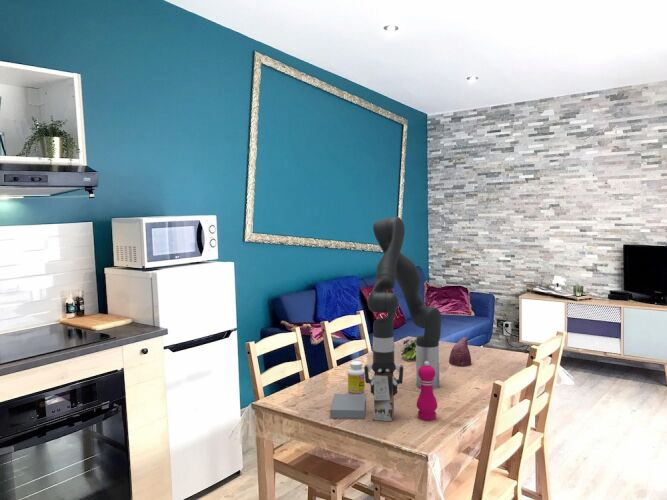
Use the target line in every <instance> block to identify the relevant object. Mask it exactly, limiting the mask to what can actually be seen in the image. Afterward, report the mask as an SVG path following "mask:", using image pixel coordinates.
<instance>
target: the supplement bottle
mask: <svg viewBox="0 0 667 500" xmlns="http://www.w3.org/2000/svg"><path fill="white" fill-rule="evenodd" d="M349 367H350V368H349V369H348V370H347V394H366V393H365V391H366V390H365V389H366V388H365V387H366V384H365V383H366V382H365V371H364V368H363V363H362V361H359V360H358V361H355V360H354V361H351V362H350V363H349Z"/></svg>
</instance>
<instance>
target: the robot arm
mask: <svg viewBox="0 0 667 500" xmlns="http://www.w3.org/2000/svg"><path fill="white" fill-rule="evenodd" d="M405 227H406V226H405V224H404V221H403V219H402V218H401V217H399V216H393V217H392V216H391V217H388V218H384V219H380V220H377V221H375V222H374V223H373V228H372V229H373V234H374V237H375V239H376V241H377V243H378V245H379V247H380V249H381V250H382V252H383V255H382V257H381V258H380V260H379V262H378V265H377V267H376V272H375V280H374V285H373V286H372V287H373V288H372V290H371V291H370V294H369V296H368V298H367V306H368V307H367V308H368V309H369V311H371V312H372V313H387V316H385V317H380V318H377V319H375V320H374V321H373V323H372V324H373V327H372V330H373V333H372V334H373V335H372V364H371V365H368V364H365V365H364V367H363V370H364V372H365V383H366V384H369V385H370V393H371V394H372V396H374V374H375V373H379V374H380V373H393V396H396V395H397V394H398V385H400V384H403V382H404V381H403V380H404V379H403V378H404V365H402V364H401V365H396V364H395V338H394V324H395V323H394V322H395V316H396V313H397V310H398V309H397V308H398V307H399V306H398V305H399V298H398V296H397V294H396V293H394V292H387V291H391V290H392V289H394V288H395V284H396V283H397V284H398V287H399V288H400V290H401V293H402V297H403V298H404V301H405V302H406V306H407V308H408V312H409V316H410V318H411V321H412V323H413V325H414V326H415V327H418V328H421V329H424V332H423V335H419V336H417V337H416V338H415V339H416V348H415V351H416V355H415V369H416V370H415V371H416V372H415V373H416V374H415V377H416V378H415V379H416V380H415V381H416V384H415V385H416V386H417V387H418V388H420V389H421V384H420V377H419V375H418V370H419V368H420V367H421V366H424V362H425V361H428V362H429V366H432V367H433V368H434V369H435V377H434V378H433V379H434V384H433V389H439V388H440V362H439V360H440V359H439V358H440V357H439V355H440V354H439V349H440V348H439V345H440V344H439V343H440V342H439V341H440V339H441V329H442V328H441V327H442V315H441V312H440V310H439V309H438V308H437V307H434V306H433V307H432V306H427V305H425V304H424V303H423V301H422V299H421V296H420V288H421V284H422V283H421V281H422V280H421V279H422V278H421V275H420V273H419V271H418V268H417V266H416V265H415V263H414V262H413V261H412V260H411V259H410V258H409V257H407V256H406V255H405V254H403V253H402V252H401V250H402V246H403V242H404V240H405V233H406V232H405V231H406V230H405V229H406V228H405ZM371 370H372V371H373V372H374V374H373V376H372V378H371V379H370V378H369V377H370V376H369V373H370V372H371ZM395 371H397V373H398V379H396V377H395V374H394V372H395Z"/></svg>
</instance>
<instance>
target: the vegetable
mask: <svg viewBox="0 0 667 500" xmlns="http://www.w3.org/2000/svg"><path fill="white" fill-rule="evenodd" d="M471 357H472V356H471V352H470V349H469V346H468V337H467V336H463V337H461V339H460V340H459V341H458V342H456V343H455V344H454V345H453V347H452V349H451V350H450V354H449V359H448V363H449V364H450V365H451V366H454V367H460V368H466V367H469V366H471V365H472V358H471Z"/></svg>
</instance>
